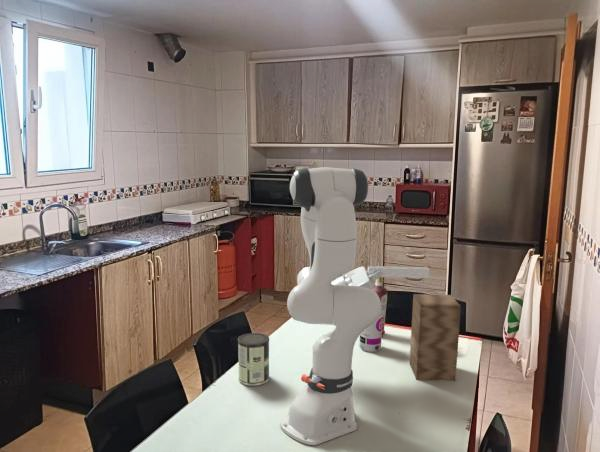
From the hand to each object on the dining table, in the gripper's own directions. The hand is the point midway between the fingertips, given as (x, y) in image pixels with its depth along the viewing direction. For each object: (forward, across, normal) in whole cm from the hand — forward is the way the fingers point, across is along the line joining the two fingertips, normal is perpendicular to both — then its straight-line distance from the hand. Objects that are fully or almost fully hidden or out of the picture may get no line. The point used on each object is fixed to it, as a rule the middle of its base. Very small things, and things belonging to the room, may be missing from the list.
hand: (381, 270), depth 167 cm
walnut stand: (-1, 0, +40) cm, 41 cm away
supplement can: (-18, +19, +31) cm, 41 cm away
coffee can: (-54, -8, +10) cm, 56 cm away
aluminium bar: (+4, 0, +4) cm, 6 cm away
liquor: (-14, +34, +33) cm, 49 cm away
